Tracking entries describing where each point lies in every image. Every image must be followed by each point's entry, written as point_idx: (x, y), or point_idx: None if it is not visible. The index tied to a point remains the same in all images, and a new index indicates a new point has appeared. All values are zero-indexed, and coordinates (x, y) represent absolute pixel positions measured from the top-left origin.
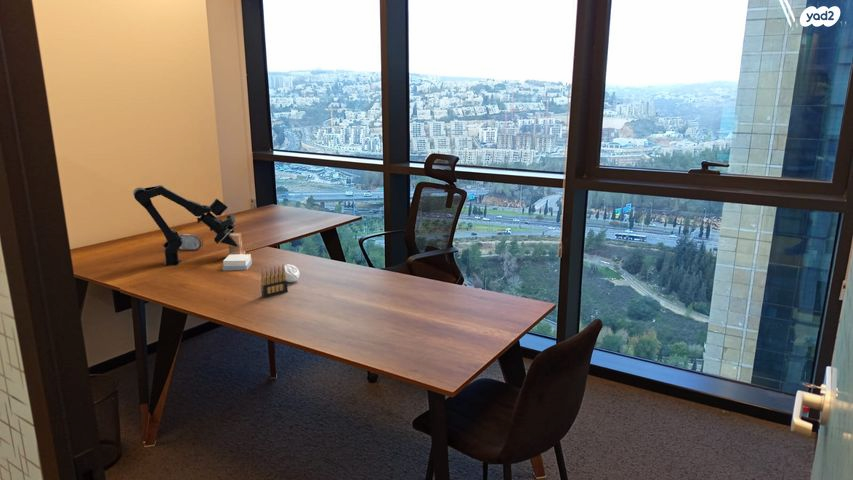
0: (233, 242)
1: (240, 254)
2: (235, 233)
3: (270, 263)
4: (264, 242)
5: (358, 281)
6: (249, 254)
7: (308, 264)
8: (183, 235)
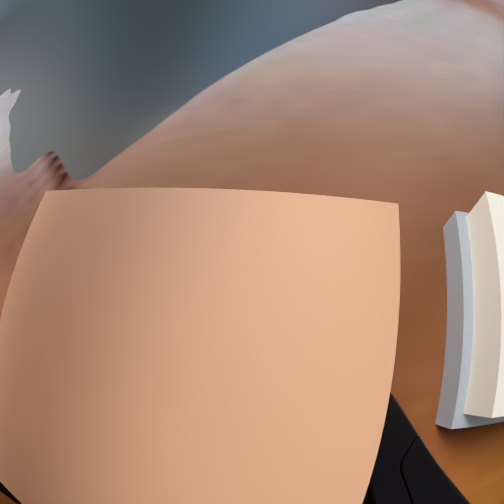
0: (390, 415)
1: (501, 287)
2: (44, 357)
3: (442, 129)
4: (16, 213)
5: (500, 27)
6: (492, 200)
7: (422, 39)
8: None
